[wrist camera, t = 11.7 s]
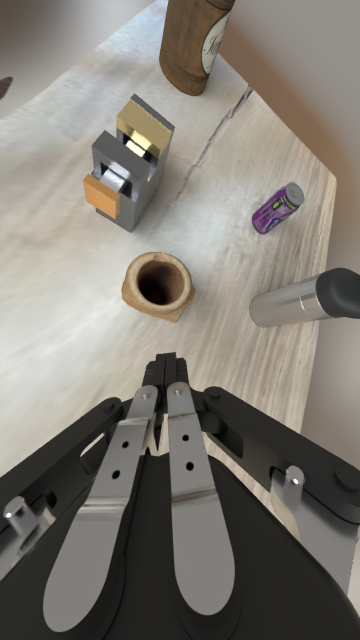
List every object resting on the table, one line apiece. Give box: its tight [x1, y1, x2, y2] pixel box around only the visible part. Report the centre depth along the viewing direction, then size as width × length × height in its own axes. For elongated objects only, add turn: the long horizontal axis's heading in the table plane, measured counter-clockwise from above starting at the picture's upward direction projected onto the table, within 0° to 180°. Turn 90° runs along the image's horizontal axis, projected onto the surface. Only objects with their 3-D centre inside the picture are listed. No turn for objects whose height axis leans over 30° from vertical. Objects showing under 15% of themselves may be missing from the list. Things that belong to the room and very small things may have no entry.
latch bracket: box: [91, 94, 175, 233], centre depth 35 cm, size 16×8×13 cm, turn 157°
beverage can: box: [252, 182, 304, 233], centre depth 50 cm, size 7×7×12 cm
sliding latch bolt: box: [83, 139, 149, 219], centre depth 31 cm, size 18×5×4 cm, turn 157°
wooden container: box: [159, 0, 235, 95], centre depth 43 cm, size 15×15×22 cm
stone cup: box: [122, 252, 195, 322], centre depth 33 cm, size 15×12×15 cm
